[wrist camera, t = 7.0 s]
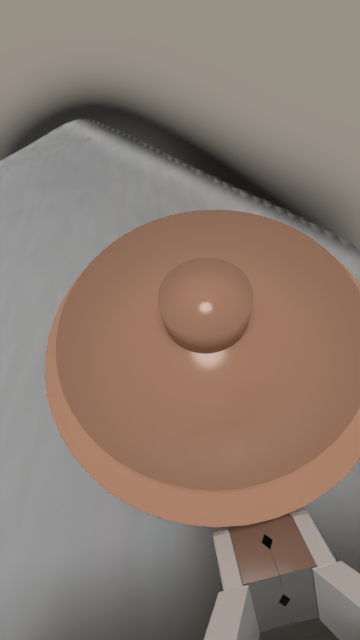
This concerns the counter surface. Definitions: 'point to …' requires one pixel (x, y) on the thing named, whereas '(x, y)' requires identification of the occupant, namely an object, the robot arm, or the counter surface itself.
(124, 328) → the terracotta canister
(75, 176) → the counter surface
